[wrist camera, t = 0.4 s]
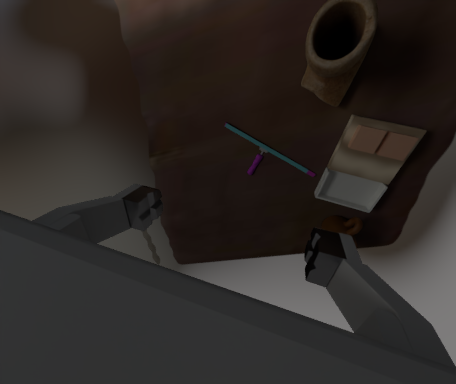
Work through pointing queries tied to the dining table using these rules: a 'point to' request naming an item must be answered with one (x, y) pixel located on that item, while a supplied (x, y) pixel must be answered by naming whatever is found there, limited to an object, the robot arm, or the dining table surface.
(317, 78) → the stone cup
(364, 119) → the board
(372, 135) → the tile
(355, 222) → the mug
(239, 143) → the dining table surface
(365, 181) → the tray
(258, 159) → the squeegee
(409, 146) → the tile
